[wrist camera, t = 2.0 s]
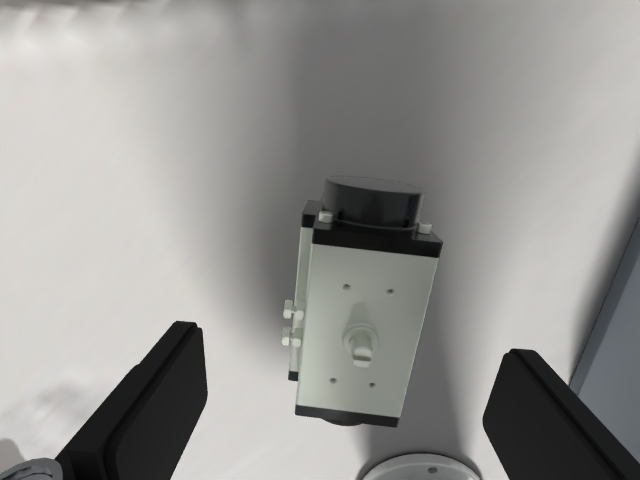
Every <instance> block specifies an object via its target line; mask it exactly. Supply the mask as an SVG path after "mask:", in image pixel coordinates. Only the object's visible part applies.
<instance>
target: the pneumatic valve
mask: <svg viewBox="0 0 640 480" xmlns="http://www.w3.org/2000/svg"><path fill="white" fill-rule="evenodd" d="M424 196H425V191H424V190H423V189H422V188H419V187H417V186H413V185H409V184H405V183H400V182H395V181H389V180H382V179H374V178H365V177H353V176H332V177H327V178H326V179H325V182H324V192H323V198H321V200H320V201H313V200H308V202H307V204H306V206H305V208H304V210H303V212H302V221H301V233H300V245H299V257H298V268H297V280H296V292H295V304H294V300H286V301H285V305H284V313H283V317H284V318H289V319H291V318H292V314H294V316H293V327H284V329H283V333H282V341H281V344H282V345H283V346H289V344H290V341H291V351H290V363H289V375H288V380H292V381H298V386H297V396H296V406H295V415H299V416H307V417H315V418H322V419H323V420H325V421H327V422H330V423H332V424H336V425H340V426H355V425H359V424H362V423H363V424H371V425H379V426H387V427H395V428H397V427H398V423H399V419H400V415H401V411H402V407H403V403H404V399H405V395H406V391H407V387H408V383H409V379H410V375H411V371H412V366H413V362H414V358H415V354H416V350H417V346H418V342H419V338H420V334H421V330H422V326H423V322H424V318H425V314H426V310H427V306H428V301H429V297H430V293H431V289H432V285H433V281H434V277H435V273H436V269H437V265H438V261H439V257H440V253H441V249H442V245H443V242H442V241H441V240H440V239H439V238H438V237H437V236H436V235H435V234H434V233H433V232H432V231H431V229H432V225H431V224H429V223H426V222H421V221H420V220H419V219H420V215H421V210H422V205H423V201H424ZM291 329H292V333H291Z"/></svg>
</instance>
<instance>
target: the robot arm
mask: <svg viewBox="0 0 640 480" xmlns="http://www.w3.org/2000/svg"><path fill="white" fill-rule="evenodd" d="M207 395H208V391H207V379H206V368H205V356H204V344H203V332H202V329H201V328H198V327H197V324H196V323H195V322H184V321H176V322H174V323H173V324H172V326H171V327H170V328H169V329H168V330H167V332H166V333H165V334H164V335H163V336H162V337H161V339H160V340H159V341H158V342H157V343H156V345H155V346H154V347H153V348H152V349H151V350H150V352H149V353H148V354H147V355H146V356H145V358H144V359H143V360H142V361H141V362H140V364H138V365H136V366H134V367H133V368H132V369H131V370H130V371H129V373H128V374H127V375H126V376H125V377H124V378H123V380H122V381H121V382H120V383H119V384H118V385H117V387H116V388H115V389H114V390H113V391H112V392H111V394H110V395H109V396H108V397H107V398H106V399H105V401H104V402H103V403H102V404H101V405H100V406H99V408H98V409H97V410H96V411H95V412H94V413H93V415H92V416H91V417H90V418H89V419H88V420H87V422H86V423H85V424H84V425H83V426H82V427H81V429H80V430H79V431H78V432H77V433H76V434H75V436H74V437H73V438H72V439H71V440H70V441H69V443H68V444H67V445H66V446H65V447H64V448H63V450H62V451H61V452H60V453H59V454H58V455H57V457H56V458H55V459H49V458H38V459H32V460H29V461H26V462H23V463H20V464H17V465H15V466H14V467H12V468H10V469H8V470H6V471H4V472H2V473H1V474H0V480H170V479H171V477H172V475H173V472H174V470H175V468H176V466H177V464H178V462H179V460H180V458H181V455H182V453H183V451H184V449H185V447H186V445H187V443H188V441H189V439H190V436H191V434H192V432H193V430H194V428H195V426H196V424H197V422H198V420H199V417H200V415H201V413H202V411H203V409H204V407H205V404H206V401H207ZM483 427H484V430H485V432H486V434H487V436H488V438H489V440H490V442H491V444H492V446H493V448H494V450H495V452H496V454H497V456H498V458H499V460H500V462H501V464H502V466H503V468H504V470H505V472H506V474H507V476H508V478H509V480H640V463H639V462H638V461H637V460H636V459H635V458H634V457H633V456H632V455H631V454H630V452H629V451H628V450H627V449H626V448H625V447H624V446H623V445H622V444H621V443H620V442H619V441H618V439H617V438H616V437H615V436H614V435H613V434H612V433H611V432H610V431H609V430H608V429H607V428H606V426H605V425H604V424H603V423H602V422H601V421H600V420H599V419H598V418H597V417H596V416H595V415H594V414H593V412H592V411H591V410H590V409H589V408H588V407H587V406H586V405H585V404H584V403H583V402H582V401H581V399H580V398H579V397H578V396H577V395H576V394H575V393H574V392H573V391H572V390H571V389H570V388H569V386H568V385H567V384H566V383H565V382H564V381H563V380H562V379H561V378H560V377H559V376H558V375H557V373H556V372H555V371H554V370H553V369H552V368H551V367H550V366H549V365H548V364H547V363H546V362H545V361H544V359H543V358H542V357H541V356H540V355H539V354H538V353H537V352H536V351H533V350H526V349H511V350H510V351H509V353H506V354H504V356H503V359H502V362H501V365H500V368H499V371H498V374H497V377H496V379H495V382H494V385H493V388H492V391H491V394H490V397H489V400H488V403H487V406H486V409H485V412H484V415H483ZM363 480H480V479H479V477H478V476H477V475H476V474H475V473H474V472H473V471H472V470H471V469H470V468H468V467H467V466H465V465H464V464H462V463H460V462H458V461H456V460H454V459H451V458H448V457H444V456H441V455H434V454H409V455H402V456H399V457H395V458H392V459H389V460H387V461H385V462H383V463H381V464H379V465H378V466H376V467H375V468H373V469H372V470H371V471H370V472H369V473H368V474H367V475H366V476H365V477H364V478H363Z"/></svg>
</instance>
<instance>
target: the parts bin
mask: <svg viewBox="0 0 640 480" xmlns="http://www.w3.org/2000/svg"><path fill="white" fill-rule="evenodd" d="M569 388H570V389H571V390H572V391H573V392H574V393H575V394H576V395H577V396H578V397H579V398H580V399H581V401H582V402H583V403H584V404H585V405H586V406H587V407H588V408H589V409H590V410H591V411H592V412H593V414H594V415H595V416H596V417H597V418H598V419H599V420H600V421H601V422H602V423H603V424H604V425H605V426H606V428H607V429H608V430H609V431H610V432H611V433H612V434H613V435H614V436H615V437H616V438H617V439H618V441H619V442H620V443H621V444H622V445H623V446H624V447H625V448H626V449H627V450H628V451H629V452H630V454H631V455H632V456H633V457H634V458H635V459H636V460H637V461H638V462H639V463H640V217H639V219H638V222H637V224H636V226H635V229H634V231H633V234H632V236H631V239H630V241H629V243H628V246H627V248H626V251H625V253H624V255H623V258H622V260H621V263H620V265H619V267H618V270H617V272H616V275H615V277H614V279H613V282H612V284H611V287H610V289H609V291H608V294H607V296H606V299H605V301H604V303H603V306H602V308H601V311H600V313H599V316H598V318H597V320H596V323H595V325H594V328H593V330H592V332H591V335H590V337H589V340H588V342H587V344H586V347H585V349H584V352H583V354H582V356H581V359H580V361H579V364H578V366H577V368H576V371H575V373H574V376H573V378H572V380H571V383H570V385H569Z"/></svg>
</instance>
